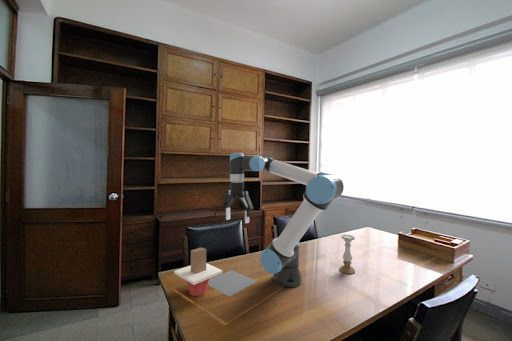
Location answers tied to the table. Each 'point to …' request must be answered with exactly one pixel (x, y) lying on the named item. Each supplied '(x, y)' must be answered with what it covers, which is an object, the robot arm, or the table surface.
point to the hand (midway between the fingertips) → (237, 221)
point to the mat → (230, 282)
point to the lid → (198, 268)
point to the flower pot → (198, 288)
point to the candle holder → (347, 255)
